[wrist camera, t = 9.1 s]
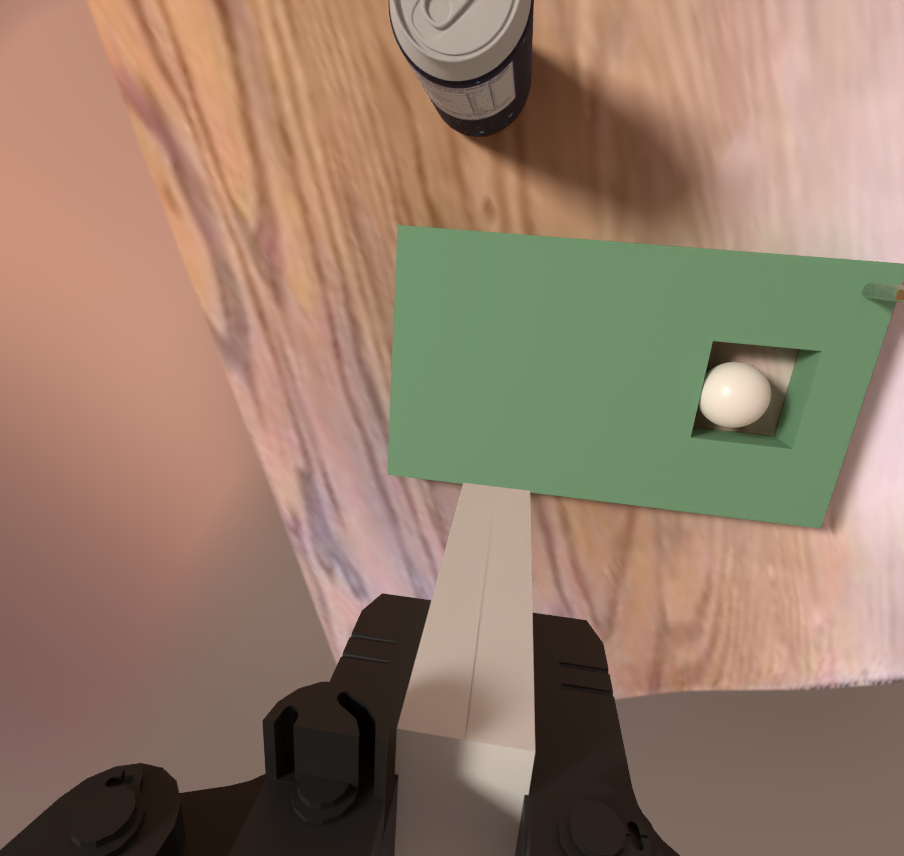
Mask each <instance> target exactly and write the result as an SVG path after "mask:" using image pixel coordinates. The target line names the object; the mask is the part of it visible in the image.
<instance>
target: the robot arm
mask: <svg viewBox="0 0 904 856" xmlns="http://www.w3.org/2000/svg"><path fill="white" fill-rule="evenodd" d="M263 736H264V752H265V769H266V774H264V775H262V776H259V777H257V778H255V779H253V780H251V781H247V782H244V783H239V784H235V785H231V786H225V787H218V788H212V789H205V790H198V791H192V792H185V793H179V790H178V786H177V781H176V780H175V779H174V778H173V777H172V776H171V775H169V773H168V772H166V771H165V770H164V769H163V768H161V767H156V766H152V765H147V764H143V763H138V764H131V765H124V766H117V767H113V768H111V769H109V770H106V771H104V772H101V773H99V774H97V775H94V776H92V777H89V778H87V779H86V780H84V781H83V782H81V783H80V784H79V785H77V786H76V787H74V788H73V789H71V790H70V791H69V792H67V793H66V794H64V795H63V796H62V797H60V798H59V799H58V800H57V801H56V802H54V803H53V804H52V805H51V806H50V807H49V808H48V809H46V810H45V811H44V812H43V813H42V814H41V815H40V816H38V817H37V818H36V819H35V820H34V821H33V822H32V823H31V824H29V825H28V826H27V827H26V828H25V829H24V830H23V831H21V832H20V833H19V834H18V835H17V836H16V837H15V838H14V839H12V840H11V841H10V842H9V843H8V844H7V845H6V846H5V847H3V848H2V849H1V850H0V856H680V855H679V854H678V853H676V852H675V851H674V850H673V849H672V848H671V847H669V846H668V845H667V844H666V843H665V842H664V841H663V840H662V839H661V838H660V837H659V835H658V834H657V833H656V832H655V831H654V829H653V827H652V825H651V823H650V822H649V821H648V819H647V818H646V817H645V816H644V814H643V813H642V811H641V809H640V808H639V806H638V804H637V801H636V798H635V795H634V791H633V788H632V784H631V779H630V774H629V769H628V764H627V759H626V754H625V749H624V744H623V740H622V735H621V729H620V724H619V720H618V714H617V709H616V704H615V699H614V697H613V689H612V684H611V679H610V674H608V664H607V660H606V655H605V650H604V645H603V642H602V641H601V640H600V638H599V637H598V636H597V634H596V633H595V631H594V630H593V629H592V627H591V626H590V625H589V623H588V622H587V620H581V619H573V618H566V617H559V616H552V615H545V614H538V613H532V565H531V516H530V491H529V490H520V489H512V488H503V487H495V486H486V485H478V484H469V483H463V486H462V489H461V493H460V497H459V500H458V504H457V508H456V512H455V515H454V519H453V523H452V526H451V530H450V534H449V537H448V541H447V545H446V549H445V552H444V556H443V560H442V563H441V567H440V571H439V574H438V578H437V582H436V585H435V589H434V593H433V597H432V600H425V599H418V598H411V597H404V596H396V595H389V594H381V595H380V596H379V597H377V598H376V599H375V600H374V601H373V602H372V603H370V604H369V605H368V606H367V607H366V608H365V609H363V610H362V612H361V614H360V616H359V618H358V621H357V623H356V625H355V627H354V629H353V632H352V636H351V637H350V638H349V640H348V643H347V645H346V647H345V649H344V651H343V656H342V657H341V658H340V660H339V662H338V664H337V667H336V669H335V671H334V673H333V675H332V678H331V680H330V682H319V683H316V684H313V685H309V686H306V687H302V688H299V689H297V690H296V691H294V692H293V693H291V694H289V695H288V696H286V697H285V698H283V699H282V700H280V701H278V702H277V704H276V705H275V706H274V707H273V708H272V710H271V711H270V712H269V713H268V715H267V716H266V717H265V718H264V719H263Z"/></svg>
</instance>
